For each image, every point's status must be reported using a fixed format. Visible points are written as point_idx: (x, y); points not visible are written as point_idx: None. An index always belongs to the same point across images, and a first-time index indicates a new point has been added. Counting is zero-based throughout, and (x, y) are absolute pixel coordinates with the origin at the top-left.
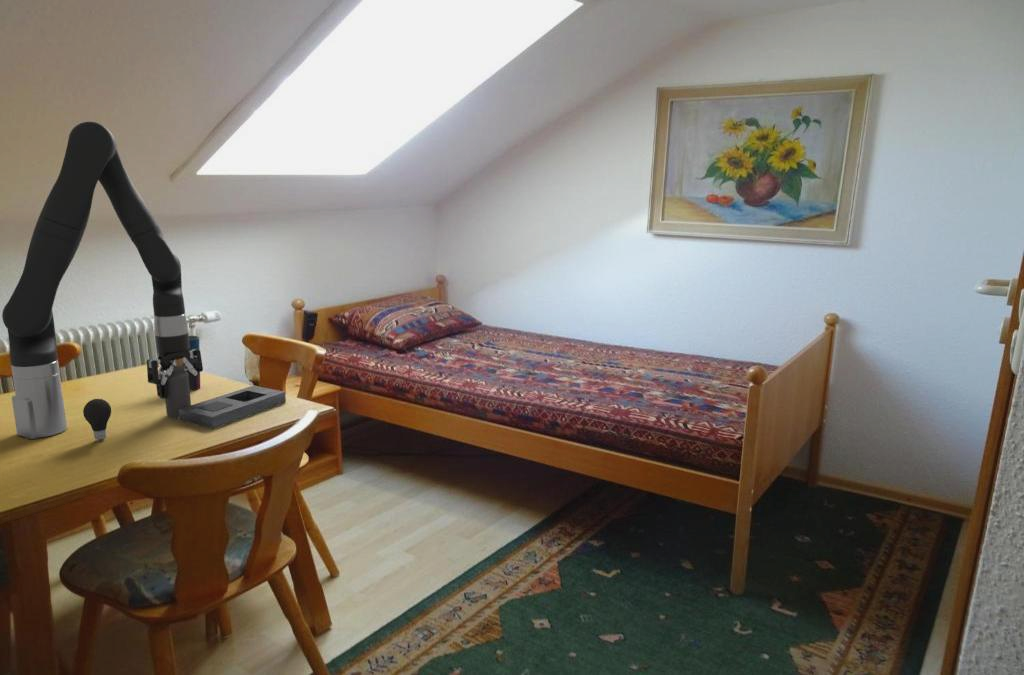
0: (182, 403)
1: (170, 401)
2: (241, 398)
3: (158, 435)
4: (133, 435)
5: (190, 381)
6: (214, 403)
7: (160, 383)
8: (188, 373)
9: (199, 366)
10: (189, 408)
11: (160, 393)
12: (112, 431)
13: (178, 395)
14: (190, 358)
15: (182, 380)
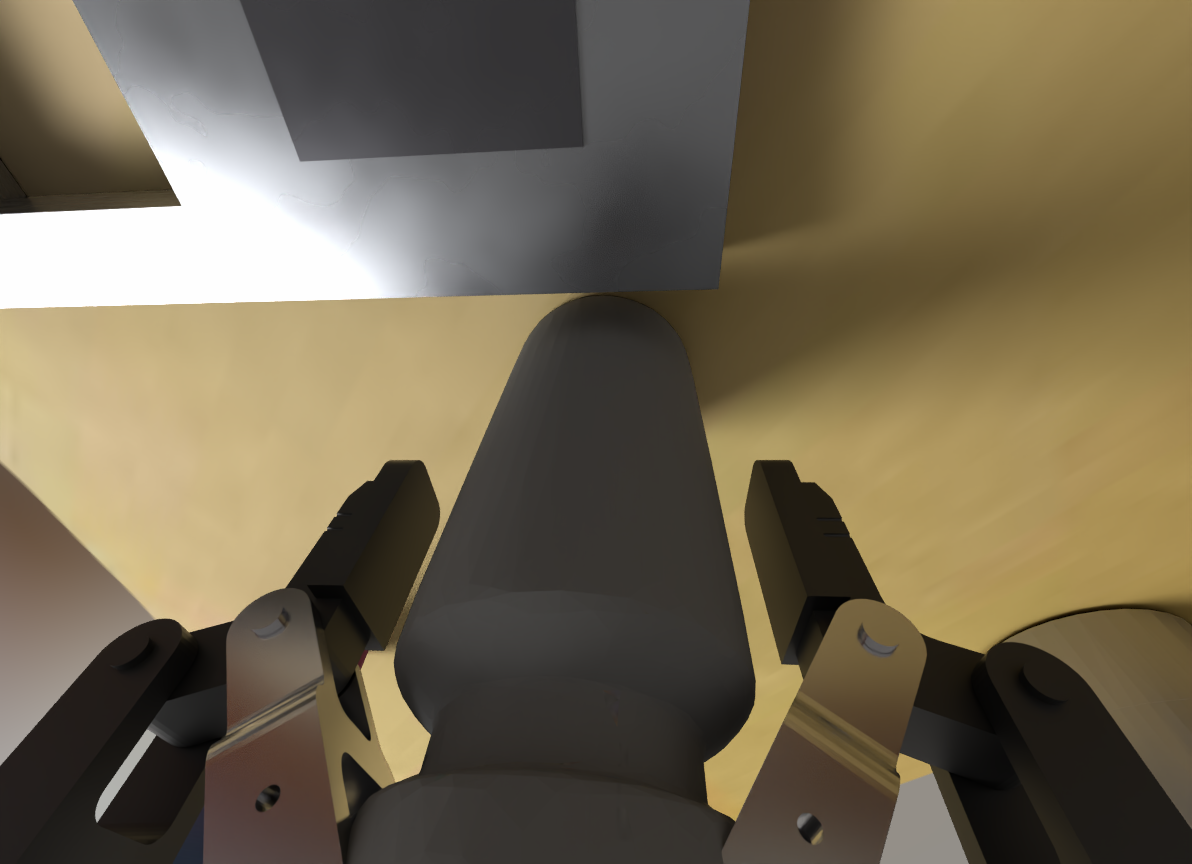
0: (628, 351)
1: (704, 434)
2: (45, 203)
3: (1166, 17)
4: (1153, 258)
5: (395, 558)
6: (353, 92)
7: (909, 637)
8: (353, 670)
9: (105, 719)
10: (644, 210)
11: (841, 522)
12: (1048, 451)
13: (659, 415)
14: (202, 826)
15: (586, 539)
